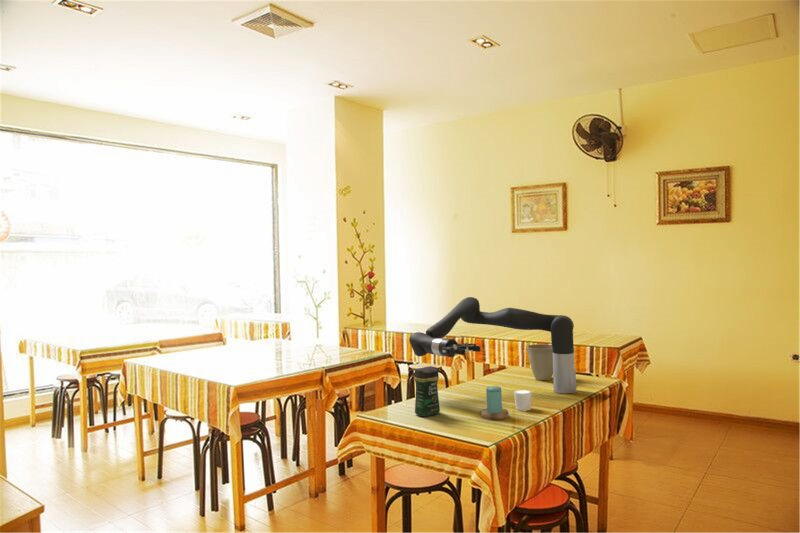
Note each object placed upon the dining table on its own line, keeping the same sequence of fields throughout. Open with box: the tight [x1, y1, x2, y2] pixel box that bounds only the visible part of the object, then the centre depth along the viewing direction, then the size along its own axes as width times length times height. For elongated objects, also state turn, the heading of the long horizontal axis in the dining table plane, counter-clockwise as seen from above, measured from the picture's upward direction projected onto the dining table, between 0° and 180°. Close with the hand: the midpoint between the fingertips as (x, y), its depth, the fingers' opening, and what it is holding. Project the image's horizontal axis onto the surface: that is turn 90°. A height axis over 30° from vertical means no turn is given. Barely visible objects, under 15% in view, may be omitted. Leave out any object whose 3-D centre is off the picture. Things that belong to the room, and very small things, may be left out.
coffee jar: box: [413, 365, 441, 417], centre depth 226 cm, size 10×8×19 cm
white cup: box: [513, 389, 532, 412], centre depth 227 cm, size 7×7×7 cm
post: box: [481, 407, 509, 421], centre depth 219 cm, size 10×10×8 cm
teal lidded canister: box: [485, 385, 503, 413], centre depth 219 cm, size 6×6×9 cm
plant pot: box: [526, 343, 553, 381], centre depth 278 cm, size 15×15×16 cm
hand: (472, 350), depth 227 cm, fingers open, 8 cm apart
